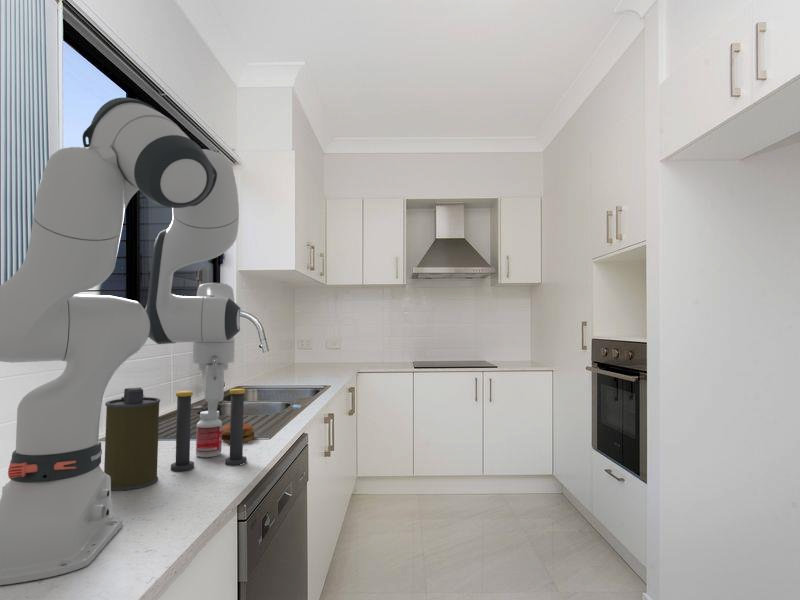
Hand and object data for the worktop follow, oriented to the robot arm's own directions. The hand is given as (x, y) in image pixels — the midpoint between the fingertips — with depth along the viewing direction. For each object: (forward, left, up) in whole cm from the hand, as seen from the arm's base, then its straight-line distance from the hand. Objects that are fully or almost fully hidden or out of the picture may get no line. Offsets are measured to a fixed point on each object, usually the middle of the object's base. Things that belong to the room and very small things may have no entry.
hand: (212, 416), depth 111 cm
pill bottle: (+18, 0, -13) cm, 22 cm away
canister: (+1, +16, -13) cm, 21 cm away
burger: (+32, -8, -14) cm, 36 cm away
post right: (+8, -6, -13) cm, 17 cm away
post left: (+8, +6, -13) cm, 17 cm away
